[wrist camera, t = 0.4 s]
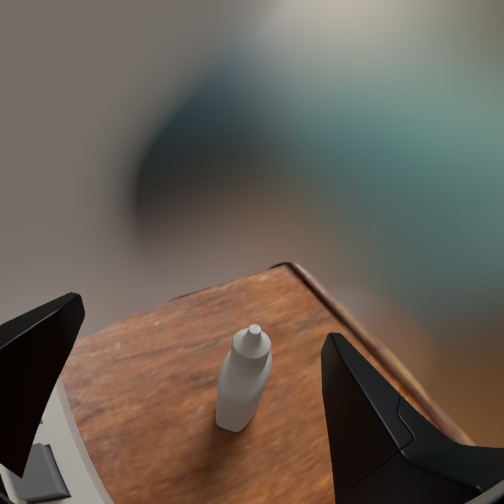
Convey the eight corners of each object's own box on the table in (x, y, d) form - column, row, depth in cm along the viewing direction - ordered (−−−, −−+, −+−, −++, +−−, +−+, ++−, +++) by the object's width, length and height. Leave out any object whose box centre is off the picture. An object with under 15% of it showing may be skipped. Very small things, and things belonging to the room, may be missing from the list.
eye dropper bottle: (198, 405, 22) (192, 326, 15) (244, 375, 26) (263, 288, 19) (229, 439, 20) (243, 381, 13) (275, 405, 23) (313, 328, 16)
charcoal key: (70, 495, 11) (59, 492, 9) (32, 502, 8) (19, 499, 7) (51, 449, 13) (39, 442, 12) (15, 457, 11) (3, 451, 10)
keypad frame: (161, 567, 8) (155, 573, 7) (67, 583, 3) (53, 586, 1) (60, 375, 21) (50, 362, 19) (-8, 397, 15) (-20, 384, 14)
